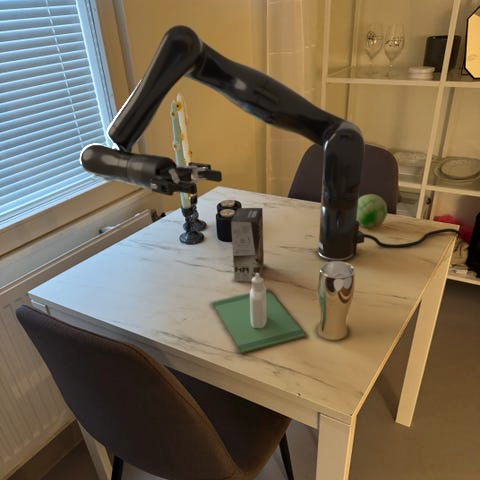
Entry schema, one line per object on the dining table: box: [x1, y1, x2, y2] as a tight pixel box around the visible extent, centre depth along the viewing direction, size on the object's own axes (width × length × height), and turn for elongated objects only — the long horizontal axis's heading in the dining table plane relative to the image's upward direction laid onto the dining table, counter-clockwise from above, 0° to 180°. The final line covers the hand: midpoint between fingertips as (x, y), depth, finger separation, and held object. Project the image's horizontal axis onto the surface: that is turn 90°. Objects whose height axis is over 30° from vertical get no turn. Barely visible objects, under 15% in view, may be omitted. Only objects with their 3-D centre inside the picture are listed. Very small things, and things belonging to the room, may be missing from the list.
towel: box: [212, 288, 306, 354], centre depth 102 cm, size 14×20×1 cm
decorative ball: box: [356, 193, 388, 230], centre depth 135 cm, size 10×10×10 cm
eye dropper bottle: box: [249, 273, 267, 328], centre depth 97 cm, size 4×6×12 cm
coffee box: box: [230, 207, 265, 283], centre depth 114 cm, size 9×6×16 cm
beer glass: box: [317, 261, 356, 341], centre depth 93 cm, size 7×7×15 cm
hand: (208, 182), depth 96 cm, fingers open, 8 cm apart
